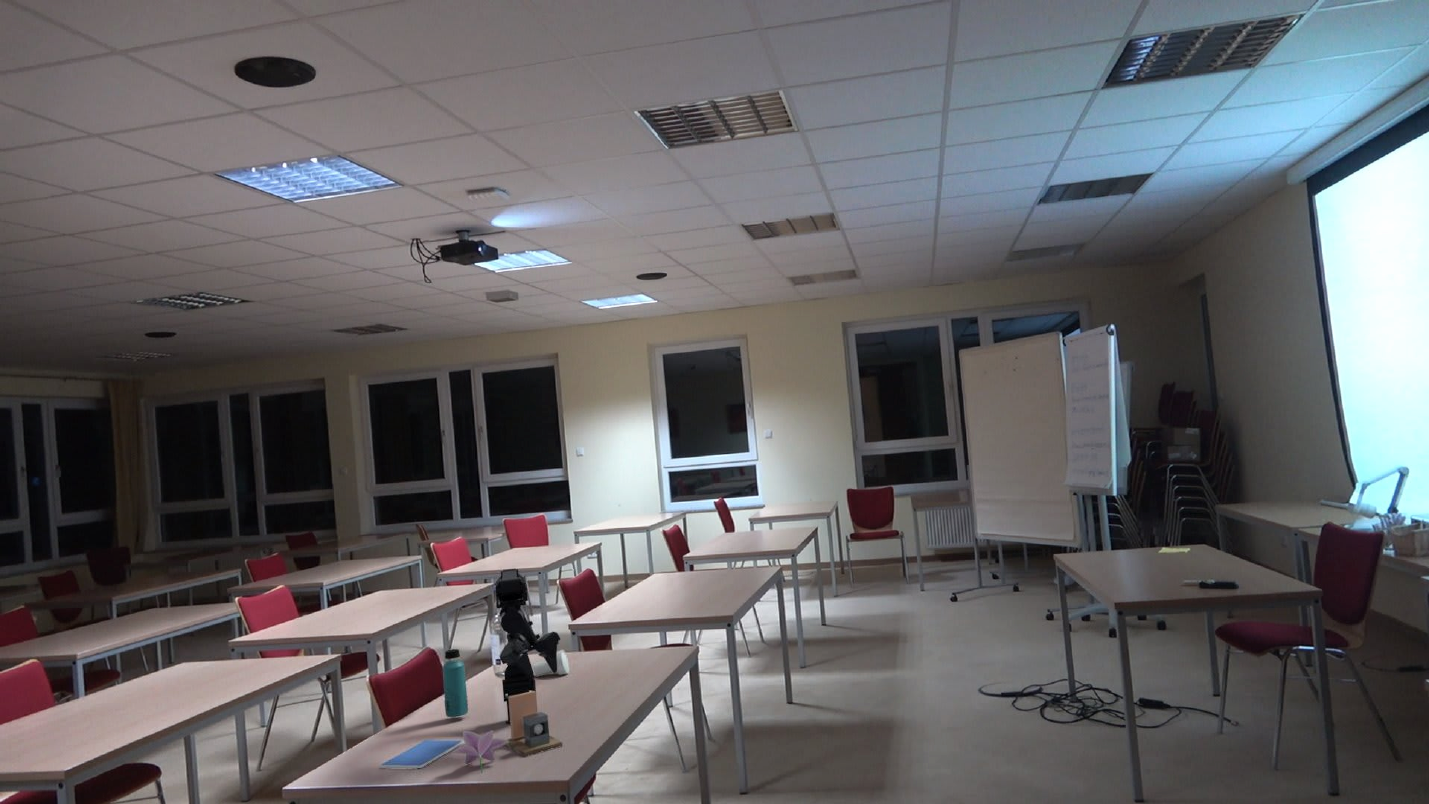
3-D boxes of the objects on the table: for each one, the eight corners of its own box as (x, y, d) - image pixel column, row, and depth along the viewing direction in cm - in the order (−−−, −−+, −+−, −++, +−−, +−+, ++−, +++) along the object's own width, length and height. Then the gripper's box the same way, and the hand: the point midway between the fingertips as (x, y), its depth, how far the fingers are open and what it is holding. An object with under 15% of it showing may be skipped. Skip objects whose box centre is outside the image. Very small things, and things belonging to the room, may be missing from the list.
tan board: (504, 744, 227) (504, 740, 227) (540, 734, 232) (540, 730, 232) (524, 756, 215) (524, 752, 215) (562, 746, 221) (562, 742, 221)
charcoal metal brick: (525, 744, 221) (522, 716, 222) (543, 739, 224) (541, 711, 225) (531, 748, 218) (528, 719, 219) (549, 743, 221) (547, 714, 221)
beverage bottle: (473, 716, 256) (468, 647, 257) (458, 723, 250) (453, 652, 251) (456, 715, 259) (451, 647, 260) (440, 722, 253) (435, 652, 254)
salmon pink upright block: (511, 738, 226) (508, 696, 227) (536, 731, 230) (533, 690, 231) (526, 746, 218) (523, 704, 219) (552, 739, 222) (549, 697, 223)
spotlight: (566, 673, 293) (561, 649, 295) (534, 683, 293) (529, 659, 296) (572, 672, 301) (566, 648, 303) (541, 681, 301) (535, 658, 303)
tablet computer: (424, 744, 235) (424, 739, 235) (465, 744, 231) (465, 739, 231) (377, 770, 216) (377, 765, 216) (421, 771, 213) (421, 766, 213)
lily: (517, 766, 212) (510, 726, 217) (492, 763, 202) (486, 722, 206) (474, 783, 213) (468, 744, 218) (447, 781, 203) (441, 740, 208)
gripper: (474, 647, 232) (502, 698, 232) (520, 632, 222) (549, 685, 223) (502, 626, 241) (528, 676, 242) (547, 611, 231) (574, 662, 232)
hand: (544, 675), depth 234 cm, fingers open, 9 cm apart
